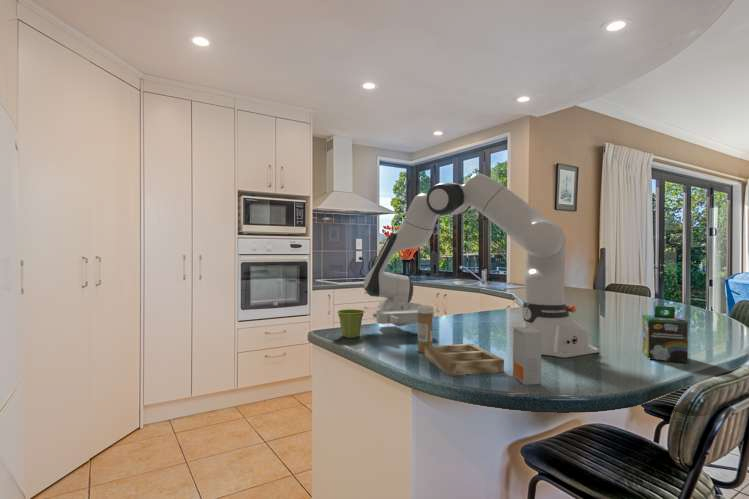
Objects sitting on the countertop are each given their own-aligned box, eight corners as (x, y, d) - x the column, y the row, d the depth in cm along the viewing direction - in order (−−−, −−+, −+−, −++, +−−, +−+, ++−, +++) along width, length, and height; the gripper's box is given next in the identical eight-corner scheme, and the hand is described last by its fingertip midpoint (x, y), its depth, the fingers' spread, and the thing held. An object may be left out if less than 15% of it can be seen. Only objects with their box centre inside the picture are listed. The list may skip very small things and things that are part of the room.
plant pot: (336, 333, 140) (337, 309, 139) (363, 333, 141) (363, 308, 140) (337, 339, 130) (337, 313, 130) (365, 339, 131) (365, 313, 131)
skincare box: (512, 376, 94) (512, 326, 94) (529, 375, 95) (529, 326, 95) (523, 385, 88) (524, 332, 88) (541, 384, 89) (542, 331, 89)
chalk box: (679, 355, 114) (679, 304, 113) (688, 364, 105) (689, 309, 105) (641, 352, 117) (641, 302, 117) (647, 360, 109) (648, 306, 109)
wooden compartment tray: (471, 353, 114) (472, 343, 114) (503, 371, 98) (504, 359, 98) (424, 357, 110) (424, 346, 110) (449, 376, 94) (449, 363, 94)
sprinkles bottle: (435, 351, 116) (436, 306, 116) (424, 354, 113) (424, 307, 113) (425, 348, 120) (426, 304, 119) (414, 350, 117) (414, 305, 117)
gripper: (371, 305, 139) (381, 311, 125) (425, 303, 144) (440, 309, 130) (371, 323, 139) (381, 331, 125) (425, 320, 144) (440, 328, 130)
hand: (412, 320), depth 128 cm, fingers open, 8 cm apart
